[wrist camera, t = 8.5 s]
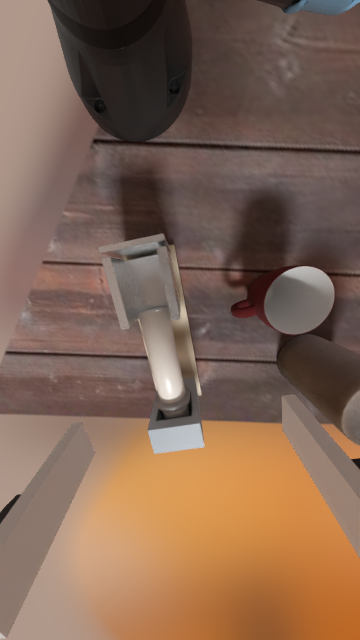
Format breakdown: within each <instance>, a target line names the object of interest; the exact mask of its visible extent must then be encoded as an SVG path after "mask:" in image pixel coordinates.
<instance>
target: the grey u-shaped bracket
mask: <svg viewBox="0 0 360 640" xmlns="http://www.w3.org/2000/svg"><path fill="white" fill-rule="evenodd" d="M98 249H99V253H101V254H105V255H109V256H113V257H117V258H121V259H125V260H128V261H125V260H120V259H116V258H112V257H109V258H104V259H101V260H102V263H103V267H104V270H105V274H106V277H107V281H108V284H109V288H110V291H111V295H112V298H113V302H114V305H115V309H116V312H117V316H118V319H119V323H120V326H121V330H123V329H128V328H130V327H131V326H132V325H133V324H134V323H135V322H136V321H137V320H138V319H139V316H138V313H139V312H141V311H144V310H147V309H151V308H156V307H168V311H169V312H170V316H171V320H172V321H173V320H179V319H180V312H181V303H180V298H179V292H178V287H177V282H176V276H175V271H174V266H173V261H172V255H171V254H170V251H171V250H170V246H169V244H168V242H167V240H166V238H165V236H164V234H158V235H154V236H149V237H144V238H139V239H135V240H130V241H125V242H120V243H116V244H111V245H106V246H101V247H98ZM155 254H158V255H155ZM150 255H153V256H150ZM145 256H148V257H145ZM140 257H143V258H140ZM135 258H138V259H135ZM130 259H133V260H130Z"/></svg>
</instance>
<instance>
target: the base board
mask: <svg viewBox="0 0 360 640" xmlns="http://www.w3.org/2000/svg"><path fill="white" fill-rule="evenodd" d="M169 246H170V250H171V251H170V254H171V255H172V261H173V266H174V271H175V276H176V282H177V287H178V292H179V298H180V303H181V312H180V319H179V320H173V321H172V320H171V316H170V312H169V316H170V320H171V325H172V330H173V335H174V339H175V344H176V349H177V354H178V359H179V363H180V368H181V373H182V378H183V379H188V378H194V377H195V382H196V387H197V393H198V395H202V394H201V388H200V383H199V377H198V372H197V367H196V361H195V356H194V350H193V345H192V339H191V334H190V328H189V323H188V317H187V312H186V307H185V301H184V296H183V290H182V285H181V279H180V274H179V268H178V263H177V257H176V252H175V246H174V244H173V245H169ZM155 255H158V254H155ZM150 256H153V255H150ZM145 257H148V256H145ZM140 258H143V257H140ZM135 259H138V258H135ZM123 260H125V259H123ZM130 260H133V259H130ZM125 261H128V260H125ZM138 321H139V325H140V329H141V332H142V328H141V324H140V320H139V319H138ZM142 336H143V332H142ZM143 340H144V336H143ZM144 344H145V340H144ZM145 348H146V344H145ZM146 352H147V348H146ZM147 356H148V352H147ZM148 360H149V356H148ZM149 364H150V360H149ZM150 368H151V364H150ZM151 372H152V368H151ZM152 375H153V372H152ZM153 379H154V375H153ZM154 383H155V379H154ZM155 387H156V383H155ZM156 391H157V387H156Z"/></svg>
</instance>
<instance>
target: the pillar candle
mask: <svg viewBox="0 0 360 640" xmlns="http://www.w3.org/2000/svg"><path fill="white" fill-rule="evenodd" d="M277 365H278V369H279V371H280V373H281V374H282V375H283V376H284V377H285V378H287V379H288V380H289V381H290V383H291V384H292V385H294V386H295V387H296V388H297V389H298V390H299V391H300V392H301V393H302V394H303V395H304V396H305V397H306V398H307V399H308V400H309V401H310V402H311V403H312V404H313V405H314V406H315V407H316V408H317V409H318V410H319V411H320V412H321V413H322V414H323V415H324V416H325V417H326V418H327V419H328V420H329V421H331V422H332V423H333V424H334V425H335V426H336V427H337V428H338V429H339V430H340V431H341V432H342V433H343V434H344V435H345V436H346V437H347V438H348V439H350V440H351V441H353V442H354V443H356V444H358V445H360V354H358V353H355V352H353V351H351V350H349V349H347V348H344V347H342V346H340V345H338V344H335V343H333V342H331V341H328V340H326V339H324V338H321V337H319V336H316V335H311V334H303V335H299V336H296V337H294V338H292V339H290V340H289V341H288V342H287V343H286V344H285V345H284V346H283V347H282V349H281V350H280V353H279V356H278V360H277Z"/></svg>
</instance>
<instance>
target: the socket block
mask: <svg viewBox="0 0 360 640" xmlns="http://www.w3.org/2000/svg"><path fill="white" fill-rule="evenodd" d="M183 383H184V385H186V386H187V387H188V388H189V392H190V401H189V403H188V407H189V411H190V416H188V417H181V418H175V419H168V420H165V419H164V415H163V412H162V411H161V410H159V409H158V407H157V404H156V400H154V404H153V409H152V413H151V418H150V422H149V427H148V434H149V437H150V440H151V444H152V448H153V451H154V454H156V453H164V452H172V451H179V450H186V449H194V448H202V447H205V446H204V439H203V431H202V423H201V415H200V407H199V399H198V393H197V387H196V382H195V377H194V378H188V379H183ZM157 392H158V391H156V394H157ZM155 396H156V395H155Z"/></svg>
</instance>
